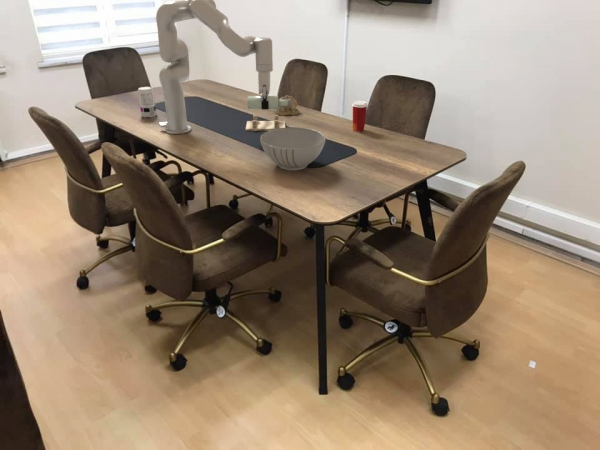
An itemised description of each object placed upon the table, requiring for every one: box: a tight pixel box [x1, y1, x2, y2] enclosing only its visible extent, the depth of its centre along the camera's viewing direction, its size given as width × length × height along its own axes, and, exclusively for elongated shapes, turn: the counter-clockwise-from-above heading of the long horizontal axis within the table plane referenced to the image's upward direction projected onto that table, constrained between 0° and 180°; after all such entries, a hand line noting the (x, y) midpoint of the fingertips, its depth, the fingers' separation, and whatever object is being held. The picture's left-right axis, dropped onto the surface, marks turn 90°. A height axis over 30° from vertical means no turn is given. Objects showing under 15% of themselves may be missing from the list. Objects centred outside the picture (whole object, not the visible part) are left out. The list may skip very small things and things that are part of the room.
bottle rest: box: [245, 114, 286, 132], centre depth 239 cm, size 20×13×4 cm, turn 92°
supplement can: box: [137, 86, 158, 118], centre depth 253 cm, size 8×8×15 cm
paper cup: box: [351, 100, 369, 133], centre depth 232 cm, size 8×8×14 cm
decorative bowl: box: [259, 126, 326, 171], centre depth 193 cm, size 27×27×12 cm
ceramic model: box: [273, 94, 301, 116], centre depth 260 cm, size 14×11×10 cm
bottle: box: [247, 95, 290, 110], centre depth 216 cm, size 20×6×6 cm, turn 92°
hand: (265, 106), depth 217 cm, fingers closed on bottle, 6 cm apart
